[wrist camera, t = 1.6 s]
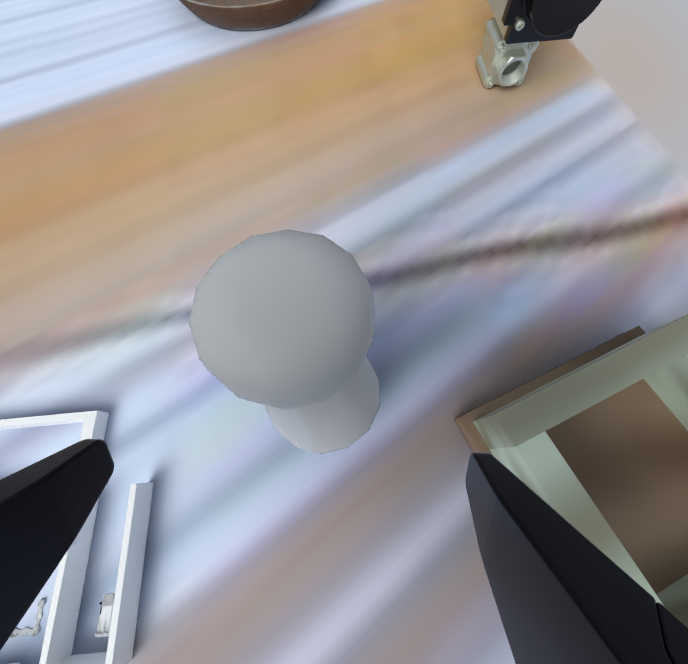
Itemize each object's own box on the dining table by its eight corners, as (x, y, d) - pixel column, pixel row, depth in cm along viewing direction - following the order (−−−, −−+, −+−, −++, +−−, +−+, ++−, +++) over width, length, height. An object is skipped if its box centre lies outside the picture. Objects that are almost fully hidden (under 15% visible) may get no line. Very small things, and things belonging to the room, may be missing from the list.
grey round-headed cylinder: (285, 464, 18) (126, 471, 6) (271, 365, 20) (135, 214, 8) (389, 440, 18) (454, 396, 6) (364, 344, 20) (375, 166, 8)
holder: (810, 543, 15) (954, 570, 12) (606, 679, 14) (696, 759, 10) (625, 332, 20) (688, 302, 16) (454, 419, 18) (478, 408, 14)
